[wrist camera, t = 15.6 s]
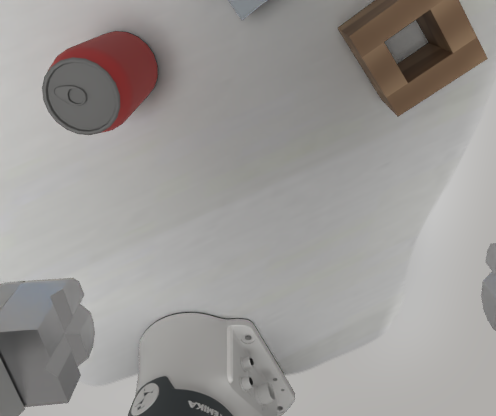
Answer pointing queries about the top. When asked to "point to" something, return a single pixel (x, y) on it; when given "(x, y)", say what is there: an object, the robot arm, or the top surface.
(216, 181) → the top surface
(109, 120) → the beer can
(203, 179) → the top surface
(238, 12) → the dock
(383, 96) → the mount
